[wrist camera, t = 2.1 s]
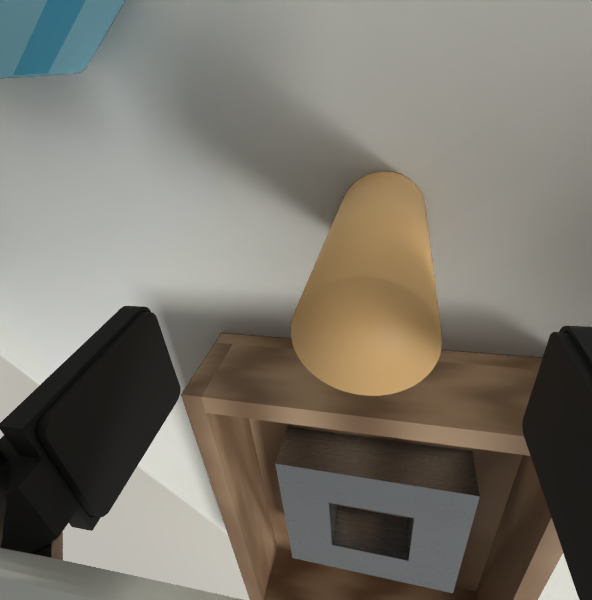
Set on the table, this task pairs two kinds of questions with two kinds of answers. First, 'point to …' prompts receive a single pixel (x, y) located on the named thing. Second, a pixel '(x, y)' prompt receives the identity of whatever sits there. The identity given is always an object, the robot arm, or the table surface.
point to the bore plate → (378, 505)
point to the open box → (376, 424)
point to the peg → (372, 293)
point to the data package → (52, 35)
